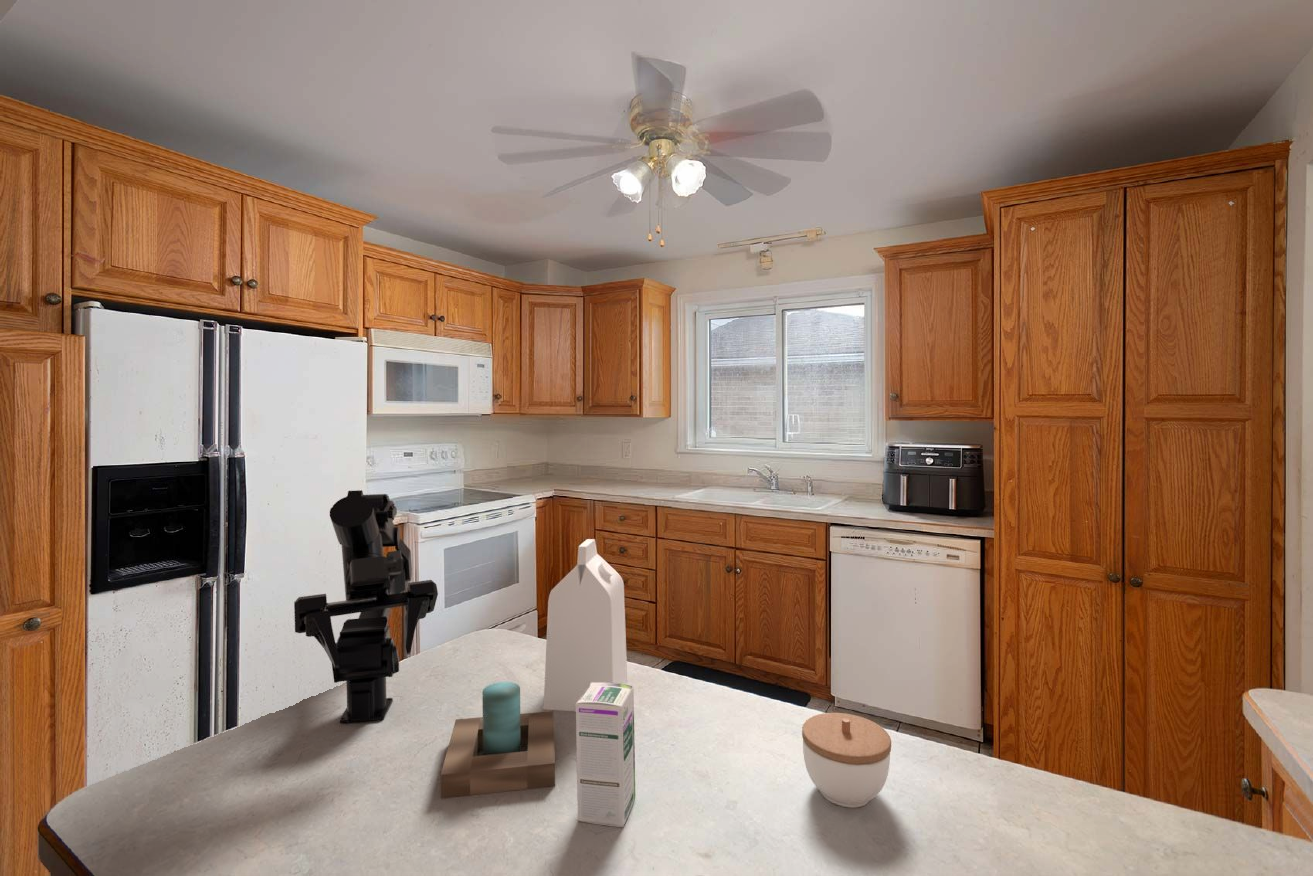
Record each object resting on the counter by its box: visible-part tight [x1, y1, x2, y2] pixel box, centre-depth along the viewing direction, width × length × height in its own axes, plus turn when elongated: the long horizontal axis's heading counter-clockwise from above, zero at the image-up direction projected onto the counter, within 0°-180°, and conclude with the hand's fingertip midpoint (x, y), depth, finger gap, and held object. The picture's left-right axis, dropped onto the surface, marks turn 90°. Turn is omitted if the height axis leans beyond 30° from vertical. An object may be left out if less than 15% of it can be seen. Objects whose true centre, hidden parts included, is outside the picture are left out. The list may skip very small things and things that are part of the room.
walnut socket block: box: [440, 710, 556, 799], centre depth 85 cm, size 14×14×3 cm
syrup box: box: [575, 682, 636, 828], centre depth 75 cm, size 6×6×14 cm
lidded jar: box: [801, 712, 892, 809], centre depth 78 cm, size 11×11×9 cm
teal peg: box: [481, 681, 522, 755], centre depth 85 cm, size 5×5×10 cm
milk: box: [543, 538, 628, 712], centre depth 105 cm, size 12×12×26 cm
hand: (373, 659), depth 86 cm, fingers open, 9 cm apart
